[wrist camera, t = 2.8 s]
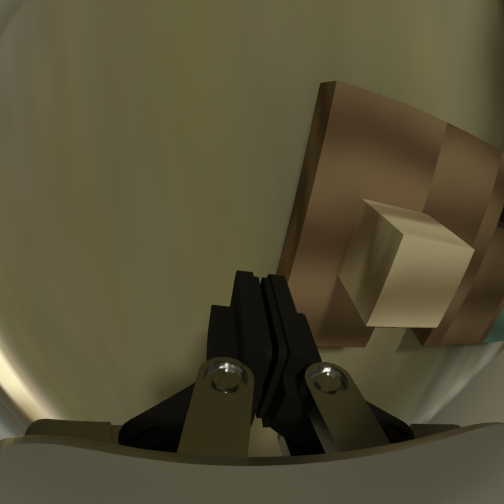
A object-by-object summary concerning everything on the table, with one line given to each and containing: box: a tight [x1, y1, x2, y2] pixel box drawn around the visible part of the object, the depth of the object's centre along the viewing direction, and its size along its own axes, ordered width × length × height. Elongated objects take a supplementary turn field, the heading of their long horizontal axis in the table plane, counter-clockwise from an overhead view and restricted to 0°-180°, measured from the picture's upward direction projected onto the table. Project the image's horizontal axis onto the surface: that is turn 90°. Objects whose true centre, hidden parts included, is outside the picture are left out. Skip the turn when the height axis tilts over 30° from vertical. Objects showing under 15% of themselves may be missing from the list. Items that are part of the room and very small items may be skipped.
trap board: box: [277, 81, 504, 347], centre depth 21 cm, size 17×29×3 cm, turn 80°
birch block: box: [338, 199, 474, 327], centre depth 16 cm, size 5×5×5 cm
